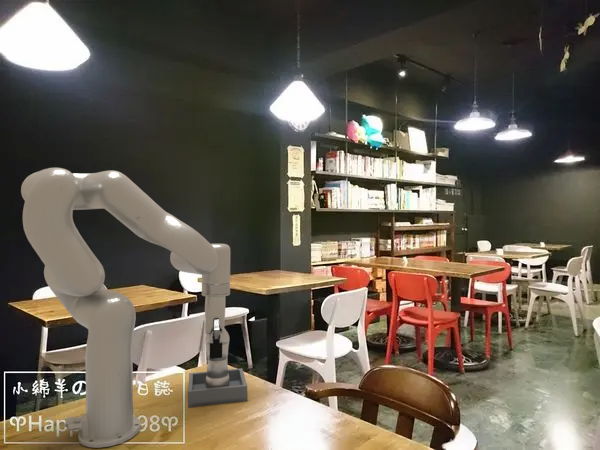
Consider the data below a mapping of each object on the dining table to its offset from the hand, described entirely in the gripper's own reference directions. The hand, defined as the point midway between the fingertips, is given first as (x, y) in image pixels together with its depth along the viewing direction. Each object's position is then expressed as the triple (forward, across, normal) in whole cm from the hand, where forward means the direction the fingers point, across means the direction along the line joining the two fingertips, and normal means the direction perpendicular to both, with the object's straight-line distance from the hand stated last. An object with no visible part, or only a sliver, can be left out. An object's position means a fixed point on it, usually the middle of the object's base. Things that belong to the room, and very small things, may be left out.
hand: (215, 352), depth 111 cm
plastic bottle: (+11, +1, +1) cm, 11 cm away
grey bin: (+12, 0, +1) cm, 12 cm away
